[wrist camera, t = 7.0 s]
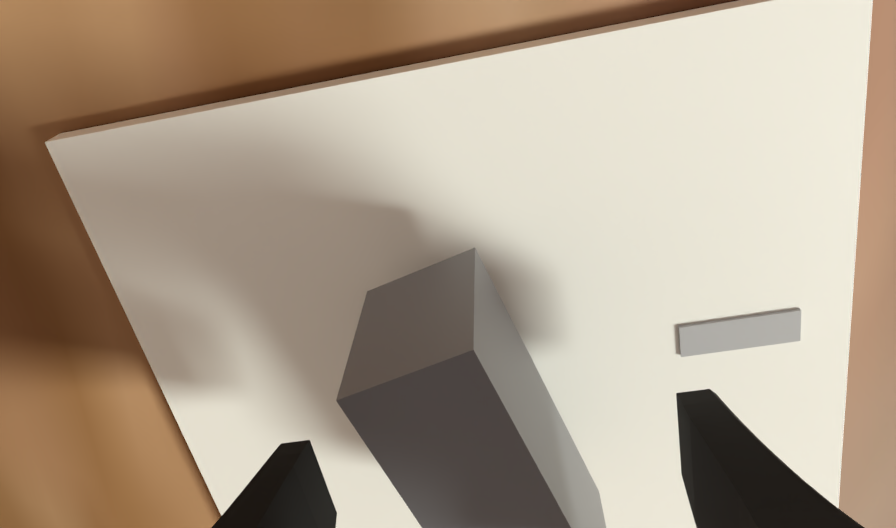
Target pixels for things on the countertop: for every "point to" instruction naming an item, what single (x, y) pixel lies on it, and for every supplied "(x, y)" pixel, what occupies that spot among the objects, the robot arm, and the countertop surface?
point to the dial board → (511, 240)
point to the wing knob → (461, 407)
